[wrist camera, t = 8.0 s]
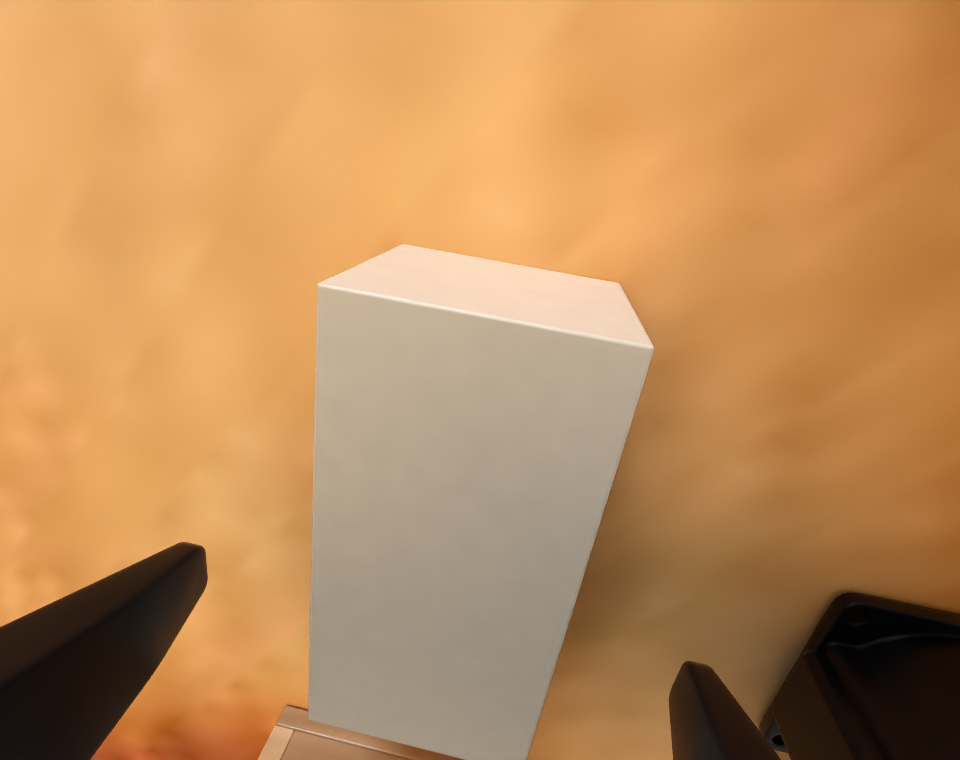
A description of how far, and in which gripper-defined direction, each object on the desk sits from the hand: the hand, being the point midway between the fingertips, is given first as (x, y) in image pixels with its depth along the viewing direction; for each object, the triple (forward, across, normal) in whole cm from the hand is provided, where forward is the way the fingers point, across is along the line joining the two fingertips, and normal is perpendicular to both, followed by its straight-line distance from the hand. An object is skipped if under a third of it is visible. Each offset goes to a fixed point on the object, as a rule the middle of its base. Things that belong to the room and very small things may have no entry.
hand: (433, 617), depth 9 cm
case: (+6, 0, 0) cm, 6 cm away
